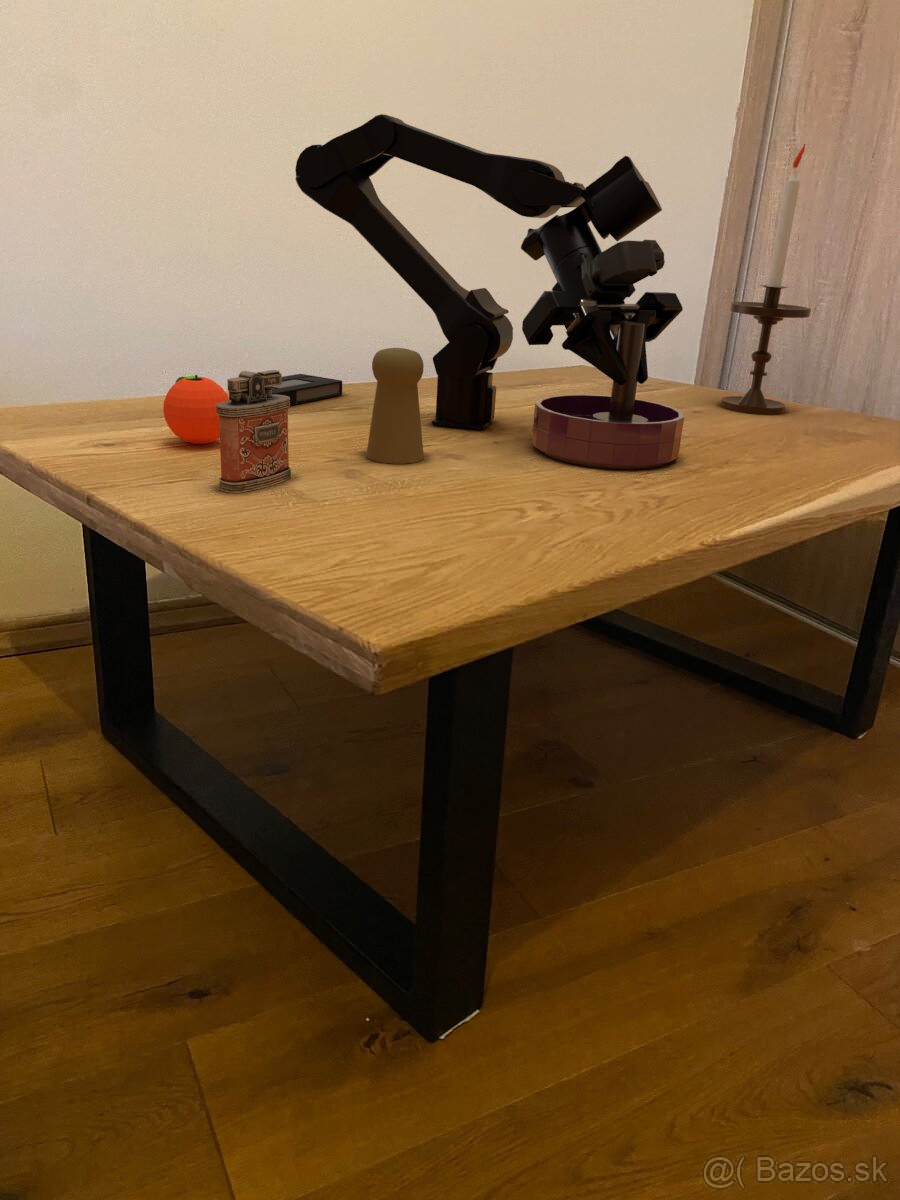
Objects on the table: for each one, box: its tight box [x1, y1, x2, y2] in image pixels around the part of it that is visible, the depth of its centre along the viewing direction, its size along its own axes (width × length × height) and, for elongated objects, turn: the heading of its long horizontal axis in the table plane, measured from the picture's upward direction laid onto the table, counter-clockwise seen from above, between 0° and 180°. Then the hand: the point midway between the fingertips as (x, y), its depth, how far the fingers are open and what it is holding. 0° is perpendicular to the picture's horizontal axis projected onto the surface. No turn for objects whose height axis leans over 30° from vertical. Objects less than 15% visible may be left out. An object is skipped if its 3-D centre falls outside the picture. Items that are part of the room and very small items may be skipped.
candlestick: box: [720, 143, 812, 415], centre depth 129 cm, size 11×11×35 cm
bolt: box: [592, 321, 648, 423], centre depth 100 cm, size 6×6×13 cm
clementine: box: [162, 374, 229, 445], centre depth 97 cm, size 8×7×7 cm
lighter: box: [216, 369, 292, 494], centre depth 83 cm, size 8×3×10 cm, turn 148°
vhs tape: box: [228, 373, 343, 406], centre depth 123 cm, size 8×14×2 cm, turn 149°
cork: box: [366, 347, 425, 465], centre depth 95 cm, size 6×6×11 cm
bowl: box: [531, 393, 685, 470], centre depth 103 cm, size 16×16×5 cm
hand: (634, 382), depth 98 cm, fingers closed on bolt, 2 cm apart
